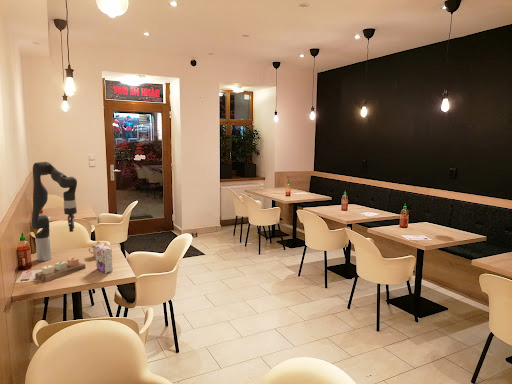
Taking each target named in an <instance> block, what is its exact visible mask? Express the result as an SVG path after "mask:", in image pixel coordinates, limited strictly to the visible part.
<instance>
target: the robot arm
mask: <svg viewBox="0 0 512 384" xmlns="http://www.w3.org/2000/svg"><path fill="white" fill-rule="evenodd" d="M47 175H50V178H51V179H52V180H53V181H54V182H56V183H58V185H59V187H61V189H68V190H66V191H64V192H63V210H64V211H63V212H64V213H63V214H64V215H67V226H68V230H69V232H70V233H73V232H74V229H75V214H77V212H78V211H77V202H76V190H77V186H78V181H77V178H76V177H74V176H67V175H66V174H65V173H63V172H61V171H59V170H58V169H57V168H56V167H55V166H53V164H52V163H50V162H48V161H41V162H39V161H38V162H34V163H33V166H32V179H33V188H32V189H33V191H32V213H31V220H30V221H31V227H32V229H33V230H39V232H36V233H35V235H34V238H35V252H36V253H35V254H36V260H37V262H46V261H50V260H51V259H52V250H51V240H50V238H51V237H50V219H49V217H48V215H44V214H43V215H40V213H41V211H42V210H43V208H44V207H45V205H46V204H47V202H48V198H49V197H48V195H49V193H48V190H47V188H46V187H45V185H44V184H43V183H42V181H41V180H42V179H41V178H42V177H41V176H47ZM40 229H41V230H40Z"/></svg>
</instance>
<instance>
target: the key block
mask: <svg viewBox="0 0 512 384" xmlns="http://www.w3.org/2000/svg"><path fill="white" fill-rule="evenodd" d="M66 265H67V269H63V270H60V271H59V270H56V269H55V267H54V273H51V274H48V275H45V274H42V271H40V272H36V273H35V274H34V275H35V277H34V278H35V279H38V280H41V281H44V282H49V281H51V280H52V281H53V280H55V279H58V278H60V277H64V276H67V275H70V274H73V273H75V272H78V271H79V272H80V271H81V270H85V269H86V264H85V263H82V262H79V265H76V266H73V267H72V266H68V264H67V263H66Z"/></svg>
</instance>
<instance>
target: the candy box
mask: <svg viewBox="0 0 512 384" xmlns="http://www.w3.org/2000/svg"><path fill="white" fill-rule="evenodd" d="M95 252H96V257H95V260H96V261H95V262H96V269H97V270H98V271H100V272H101V273H104V274H107V273H109V274H110V273H113V272H114V271H113V256H112V255H113V253H112V252H113V251H112V247H111V248H110V247H109V246H106V244H105V245H98V246H95Z"/></svg>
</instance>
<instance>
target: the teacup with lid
mask: <svg viewBox="0 0 512 384" xmlns="http://www.w3.org/2000/svg"><path fill="white" fill-rule="evenodd" d="M98 245H105V246H106V244H105V242H101V240H97V241H96V242H95V243H93V244H92V246H91V247H88V253H90V254H92V255H93V257H94V258H96V252H95V246H98ZM91 249H92V251H91Z"/></svg>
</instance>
